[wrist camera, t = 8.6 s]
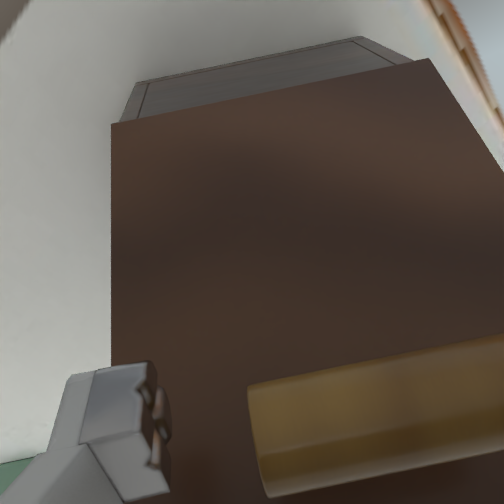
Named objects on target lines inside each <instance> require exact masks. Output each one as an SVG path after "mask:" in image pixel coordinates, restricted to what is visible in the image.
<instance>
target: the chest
mask: <svg viewBox="0 0 504 504" xmlns="http://www.w3.org/2000/svg"><path fill="white" fill-rule="evenodd" d="M412 61H414V60H411V59H409V58H407V57H405V56H403V55H401V54H399V53H397V52H395V51H393V50H391V49H388V48H386V47H384V46H382V45H380V44H378V43H376V42H374V41H372V40H370V39H368V38H365V37H363V36H359V37H354V38H350V39H345V40H340V41H335V42H330V43H325V44H321V45H316V46H311V47H306V48H301V49H297V50H292V51H287V52H282V53H277V54H272V55H268V56H263V57H258V58H253V59H248V60H244V61H239V62H234V63H229V64H224V65H219V66H215V67H210V68H205V69H200V70H195V71H191V72H186V73H181V74H176V75H171V76H167V77H162V78H157V79H152V80H147V81H142V82H138V83H136V84H135V86H134V88H133V91H132V93H131V95H130V98H129V100H128V102H127V105H126V107H125V110H124V112H123V114H122V117H121V119H120V121H119V122H123V121H127V120H132V119H137V118H142V117H147V116H152V115H156V114H161V113H166V112H171V111H176V110H180V109H185V108H190V107H195V106H200V105H205V104H209V103H214V102H219V101H224V100H229V99H233V98H238V97H243V96H248V95H253V94H258V93H262V92H267V91H272V90H277V89H282V88H286V87H291V86H296V85H301V84H306V83H311V82H315V81H320V80H325V79H330V78H335V77H339V76H344V75H349V74H354V73H359V72H363V71H368V70H373V69H378V68H383V67H388V66H392V65H397V64H402V63H407V62H412Z"/></svg>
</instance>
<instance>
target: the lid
mask: <svg viewBox="0 0 504 504" xmlns="http://www.w3.org/2000/svg"><path fill="white" fill-rule="evenodd" d="M145 360H150V361H152V362H153V364H154V366H155V368H156V370H157V372H158V376H157V385H159V386H161V387H163V388H164V389H165V392H166V394H167V396H168V400H169V404H170V408H171V416H172V437H171V439H170V440H169V442H168V443H167V445H166V447H167V450H168V452H169V454H170V456H171V480H170V492H168V493H164V494H160V495H156V496H152V497H147V498H143V499H139V500H135V501H131V502H127V503H123V504H504V172H503V171H502V169H501V168H500V166H499V165H498V163H497V162H496V160H495V159H494V157H493V156H492V154H491V152H490V151H489V149H488V148H487V146H486V145H485V143H484V142H483V140H482V139H481V137H480V136H479V134H478V133H477V131H476V129H475V128H474V126H473V125H472V123H471V122H470V120H469V119H468V117H467V116H466V114H465V113H464V111H463V110H462V108H461V106H460V105H459V103H458V102H457V100H456V99H455V97H454V96H453V94H452V93H451V91H450V90H449V88H448V87H447V85H446V83H445V82H444V80H443V79H442V77H441V76H440V74H439V73H438V71H437V70H436V68H435V67H434V65H433V63H432V62H431V60H430V59H429V58H426V59H421V60H416V61H412V62H407V63H402V64H397V65H392V66H388V67H383V68H378V69H373V70H368V71H363V72H359V73H354V74H349V75H344V76H339V77H335V78H330V79H325V80H320V81H315V82H311V83H306V84H301V85H296V86H291V87H286V88H282V89H277V90H272V91H267V92H262V93H258V94H253V95H248V96H243V97H238V98H233V99H229V100H224V101H219V102H214V103H209V104H205V105H200V106H195V107H190V108H185V109H180V110H176V111H171V112H166V113H161V114H156V115H152V116H147V117H142V118H137V119H132V120H127V121H123V122H118V123H113V124H111V367H113V366H118V365H124V364H129V363H134V362H140V361H145Z"/></svg>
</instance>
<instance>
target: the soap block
mask: <svg viewBox="0 0 504 504" xmlns="http://www.w3.org/2000/svg"><path fill="white" fill-rule="evenodd" d="M34 458H35V457H34ZM34 458H29V459H24V460H19V461H14V462H9V463H5V464H1V465H0V495H1V494H2V493H3V492H4V491H5V490H6V489H7V488H8V487H9V485H10V484H11V483H12V482H13V481H14V480H15V479H16V478H17V477H18V476H19V474H20V473H21V472H22V471H23V470H24V469H25V468H26V467H27V466H28V464H29V463H30V462H31V461H32V460H33V459H34Z"/></svg>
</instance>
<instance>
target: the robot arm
mask: <svg viewBox="0 0 504 504" xmlns="http://www.w3.org/2000/svg"><path fill="white" fill-rule="evenodd" d="M157 376H158V372H157V370H156V368H155V366H154V364H153V362H152V361H150V360H145V361H140V362H134V363H129V364H124V365H118V366H113V367H108V368H102V369H98V370H95V371H90V372H84V373H79V374H73V375H71V377H70V378H69V379H68V380H67V382H66V385H65V388H64V392H63V395H62V399H61V402H60V406H59V409H58V413H57V416H56V420H55V423H54V427H53V430H52V434H51V437H50V440H49V444H48V447H47V451H46V452H44V453H40V454H37V456H36V457H35V458H34V459H33V460H32V461H31V462H30V463H29V464H28V466H27V467H26V468H25V469H24V470H23V471H22V472H21V473H20V474H19V476H18V477H17V478H16V479H15V480H14V481H13V482H12V483H11V484H10V485H9V487H8V488H7V489H6V490H5V491H4V492H3V493H2V494H1V495H0V504H123V503H127V502H131V501H135V500H139V499H143V498H147V497H152V496H156V495H160V494H164V493H168V492H170V480H171V456H170V454H169V452H168V450H167V447H166V445H167V443H168V442H169V440H170V439H171V437H172V416H171V408H170V404H169V400H168V396H167V394H166V392H165V389H164V388H163V387H161V386H159V385H157Z"/></svg>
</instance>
